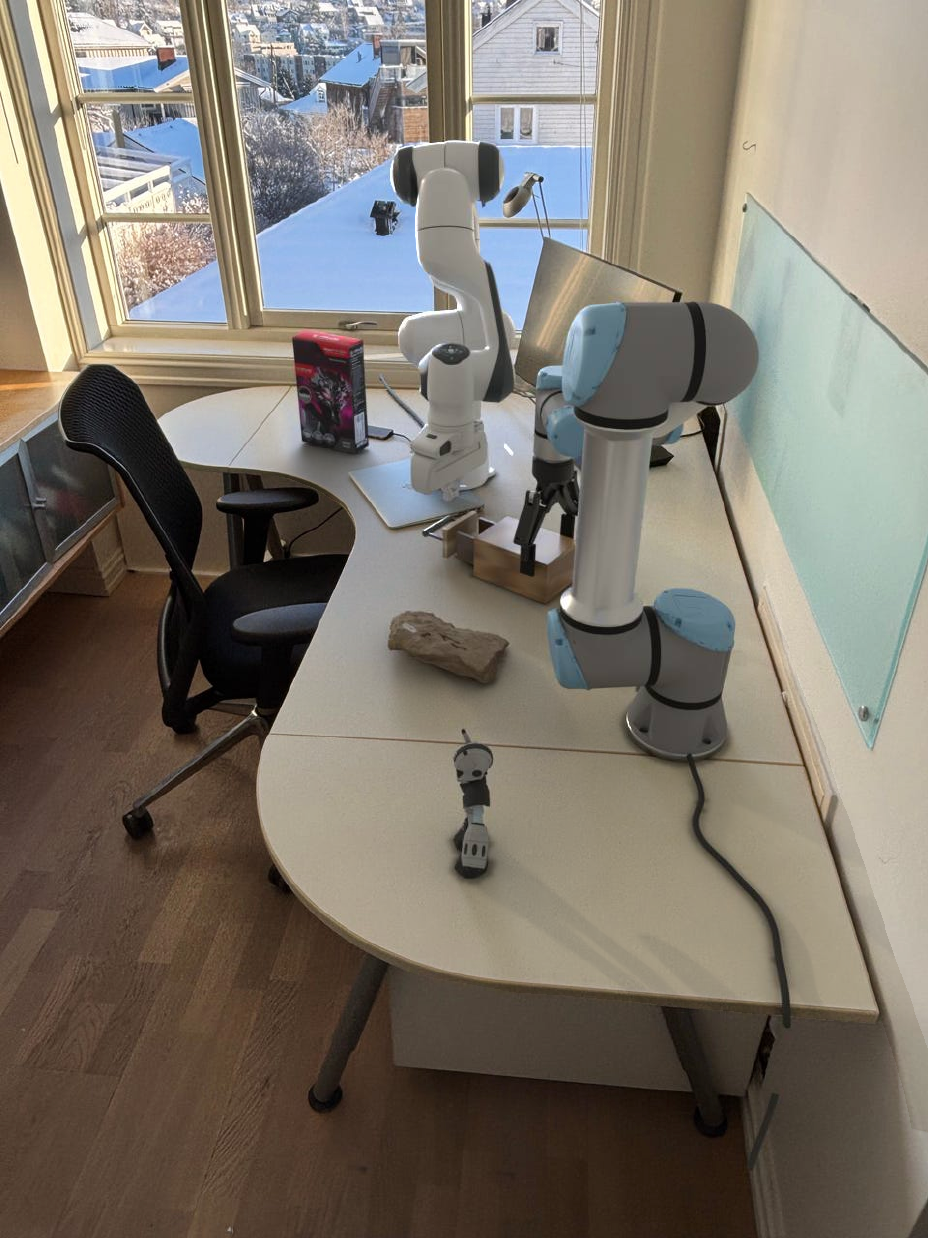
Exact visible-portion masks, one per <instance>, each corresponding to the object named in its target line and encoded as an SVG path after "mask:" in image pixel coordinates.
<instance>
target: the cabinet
mask: <svg viewBox="0 0 928 1238" xmlns="http://www.w3.org/2000/svg"><path fill="white" fill-rule="evenodd" d="M519 520H520V519H517V518H514V517H511V516H509V515H507V516H505V517H503V518H502V519H501V520H499V521H497V522H496V524H495V525H493V526H491V527H490V528H488V529H487V530H485V531H484V532H482V533H481V534H479V535H478V534H477V536H476V537H474V565H473V571H472V572H473V577H475V578H477V579H478V578H479V579H480V580H483V581H486V582H488V583H491V584H493V585H496V586H498V587H501V588H503V589H506V590H508V591H510V592H513V593H516V594H518V595H521V596H524V597H526V598H528V599H531V600H533V601H536V602H539V603H541V604H544V605H546V604H548V602H550V601H551V600H552V599H553V598H555V597H556V596H558V595H559V594H560V593H561V592H562V591H563V590H565V589H566V588H567V587H569V586H570V585H572V582H573V569H574V556H575V543H576V538H574V539H572V538H569V537H566V536H563V535H560V533H557V532H555V531H552V530H549V529H547V528H546V529H545V528H543V527H540V529H539V532H538V534H537V536H536V539H535V541H534V543H533V544H536V555H535V572H534V576H533V577H531V576H528V575H525V574H523V573H520V560H521V559H520V553H521V546H520V545H517V544H514V543H513V540H514V537H515V533H516V530H517V527H518V523H519Z"/></svg>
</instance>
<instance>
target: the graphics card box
mask: <svg viewBox="0 0 928 1238" xmlns="http://www.w3.org/2000/svg"><path fill="white" fill-rule="evenodd" d="M291 343H292V352H293V361H294V372H295V373H294V374H295V383H296V392H297V405H298V415H299V424H300V436H301V442H302V443H306V444H310V445H314V446H318V447H324V448H327V449H332V450H336V451H339V452H344V453H349V454H353V455H355V454H358V453H359V452H361V451H363V450H365V449H366V448H367V447H369V446H370V440H369V423H368V421H369V420H368V405H367V404H368V403H367V389H366V370H365V349H364V348H365V347H364V340H363V338H355V337H350V336H344V335H338V334H334V333H327V332H322V331H318V330H317V331H316V330H311V329H304V330H301V331H299V332H297V333H295V335H293V336H292V337H291Z"/></svg>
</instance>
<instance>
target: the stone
mask: <svg viewBox="0 0 928 1238" xmlns="http://www.w3.org/2000/svg"><path fill="white" fill-rule="evenodd" d="M389 630H390V632H389V635H388V641H387V648H388V650H389V651H391V652H392V651H401V652H403V653H405V654H406V655H407V657H408V658H410V659H412V660H417V661H418V660H420V662H421V663H425V664H430V665H435V666H436V667H439V668H441V669H444V670H446V671H448V672H452V673H453V674H455V675H457V676H460V677H467V678H473V679H475V680H477V682H479V683H482V684H486V685H487V684H490V683H492V682H493V680H494V678H495V677H496V675H497V671H498V665H499V664H500V661H501V659H502V657H503V655H504V653H505V652H506V648H507V647H508V646H509V645H510V642H509V641H508V640H507V639H506V638H504V637H503V636H500V635H499V634H495V633H492V632H483V631H480V630H473V629H470V628H462V627H455V626H454V625H453V624H452V622H446V621H444V620H443V619H442V618H440V617H438V616H436V615H435V614H434V613H433V612H425V611H422V610H421V611H420V610H419V611H418V610H417V611H411V610H406V611H404V612H401V613H400V614H398V615H396V616H394V617H392V619H391V622H390V625H389Z"/></svg>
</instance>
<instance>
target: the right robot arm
mask: <svg viewBox="0 0 928 1238" xmlns="http://www.w3.org/2000/svg"><path fill="white" fill-rule="evenodd" d="M759 351H760V350H759V346H758V341H757V339H756V337H755V334H754V332H753V330H752V328H751V326H749V324H748V323H747V322H746V320H745V319H743V317H741V316H740V315H739V314H737V313H736V312H735V311H733V310H732V309H730V308H728V307H725V306H723V305H721V304H718V303H713V302H709V301H689V302H687V301H678V302H677V301H674V302H671V301H670V302H669V301H666V302H665V301H664V302H661V301H658V302H657V301H653V302H652V301H651V302H649V301H647V302H645V301H644V302H643V301H642V302H641V301H640V302H638V301H637V302H636V301H635V302H632V301H631V302H630V301H628V302H627V301H624V302H623V301H620V300H619V301H618V300H617V301H614V302H611V303H599V304H598V303H597V304H590V305H587V306H585V307H583V308H582V309H580V310H579V312H578V313H577V314H576V315H575V317H574V319H573V321H572V323H571V325H570V328H569V330H568V333H567V337H566V342H565V346H564V351H563V357H562V365H549V366H544V367H543V368H541V369H540V370H539V371H538V373H537V376H536V385H535V388H534V391H535V405H534V406H535V407H534V429H533V447H532V453H533V455H532V462H531V475H532V477H533V478H534V479H535V480H536V487H535V490H530V489H527V490H526V492H525V497H524V503H523V507H522V510H521V514H520V516H519V519H518V520H519V523H518V527H517V530H516V533H515V537H514V540H513V543H514V544H517V545H520V546H521V553H520V559H521V560H520V573H523V574H525V575H528V576H531V577H533V576H534V572H535V555H536V544H533V543H534V541H535V539H536V536H537V534H538V532H539V529H540V528H542V524H543V522H544V521H545V517H546V515H547V514H548V513H550V512H551V511H552V508H553V507H554V505H555V504H559V506H560V508H561V509H562V511H563V512H564V513H561V515H560V526H559V534H560V535H563V536H566V537H569V538H572V539H575V540H576V543H575V556H574V569H573V582H572V583H571V586H570V587H569V588H568V589H566V590H565V591H564V592H562V594H561V596H560V600H559V608H552V609H551V610H548V612H547V613H546V633H547V640H548V647H549V654H550V658H551V659H550V660H551V664H552V668H553V672H554V675H555V678H556V681H557V683H558V684H559V685H560V686H561V687H562V688H564V689H567V690H586V691H591V690H594V689H596V690H597V689H616V688H634V687H635V691H634V692H635V693H636V694H635V695H634V697H633V699H632V701H631V702H630V704H629V706H628V708H627V711H626V719H625V728H626V732H627V734H628V736H629V738H630V739H631V741H632V742H634V744H636V745H637V746H638V747H639V748H640V749H641V750H643V751H645V752H646V753H648V754H650V755H651V756H654V757H656V758H659V759H662V760H666V761H670V762H675V763H688V766H689V769H690V772H691V775H692V778H693V781H694V783H695V785H696V789H697V795H698V797H697V802H696V806H695V810H694V812H693V816H692V829H693V833H694V835H695V837H696V838H697V841H698V842H699V844H700V845H701V846H702V848H704V849H705V850H706V852H707V853H708V854H709V855H711V856H712V858H714V859H715V860H716V861H717V862H718V863H719V864H720V865H721V867H723V868H724V869H725V870H726V872H728V874H729V875H730V876H731V877H732V878H733V879H734V880H735V881H736V882H737V883H738V885H740V886H741V887H742V888H743V890H745V892H747V894H749V896H750V897H752V899H753V900H754V902H756V903H757V905H758V907H759V908H760V909H761V911H762V913H763V914H764V916H765V918H766V921H767V923H768V925H769V928H770V932H771V938H772V944H773V952H774V959H775V964H776V969H777V975H778V981H779V986H780V994H781V1009H782V1010H781V1011H782V1012H781V1013H782V1016H781V1017H782V1026H783V1027H784V1029H786V1030H787V1029H788V1030H790V1029H791V1025H792V1024H791V1021H792V1018H791V1014H792V1013H791V999H790V990H789V989H790V988H789V983H788V978H787V977H788V976H787V973H786V968H785V963H784V957H783V950H782V943H781V937H780V932H779V927H778V925H777V922H776V919H775V917H774V914H773V913H772V911H771V909H770V907H769V906H768V904H767V902H765V900H764V899H763V897H762V896H761V894H759V893H758V892H757V890H756V889H755V888H754V887H752V885H751V884H750V883H749V882H748V881H747V880H746V879H745V878H743V876H742V875H741V874H740V873H739V872H738V871H737V870H736V869H735V867H734V866H733V865H732V864H730V862H729V861H728V860H727V859H726V858H724V857H723V855H722V854H720V853H719V852H718V851H717V850H716V849H715V848H714V847H713V846H712V845H711V844H710V843H709V842H708V840H707V839H706V838H705V836H704V835H703V833H702V831H701V828H700V817H701V814H702V811H703V809H704V805H705V801H706V800H705V799H706V797H705V789H704V785H703V782H702V780H701V778H700V775H699V772H698V769H697V766H696V763H695V762H700V761H703V760H706V759H709V758H711V757H714V755H716V754H718V752H720V751H721V750H722V748H723V747H724V744H725V743H726V740H727V739H726V738H727V733H728V721H727V716H726V712H725V708H724V707H725V706H724V701H723V692H724V686H725V682H726V678H727V674H728V669H729V664H730V659H731V654H732V651H733V649H734V646H735V640H734V639H735V632H736V620H735V619H736V618H735V617H734V614H733V612H732V611H731V609H730V608H729V607H728V606H727V605H726V604H725V603H723V602H722V601H721V600H719V599H718V598H716V597H715V596H712V595H711V594H709V593H706V592H704V591H701V590H696V589H692V588H686V587H673V588H668V589H665V590H663V591H662V592H660V593H658V595H657V596H656V597H655V599H654V601H653V605H644V603H643V600H642V598H641V596H639V595H638V594H637V593H636V592H635V588H636V579H637V572H638V571H637V570H638V564H639V563H638V562H639V554H640V546H641V545H640V544H641V538H642V529H643V520H644V513H645V504H646V495H647V487H648V478H649V470H650V463H651V462H650V461H651V454H652V447H660V446H666V445H667V446H668V445H674V444H676V443H678V442H679V441H680V439H681V435H682V434H683V431H684V425H685V424H684V423H686V422H687V421H688V420H690V419H691V418H693V417H695V416H696V415H698V414H699V413H700V412H701V411H703V410H704V409H706V408H708V407H718V406H721V405H725V404H726V403H729V402H730V401H733V399H735V398H737V397H738V396H739V395H740V394H742V393H743V392H744V391H745V390H746V389H747V388H748V387H749V386H750V384H751V383H752V381H753V379H754V377H755V375H756V373H757V371H758V365H759V361H760V359H759V358H760V357H759V356H760V355H759V354H760V353H759ZM580 456H581V467H580V480H579V481H580V482H579V481H578V470H577V469H575V464H576V463H575V462H576V458H577V457H580ZM576 517H577V520H576ZM575 526H576V529H575ZM575 530H576V534H575ZM779 1098H780V1094H778V1093H775V1092H771V1094H770V1097H769V1101H768V1104H767V1107H766V1110H765V1113H764V1116H763V1119H762V1121H761V1124H760V1127H759V1129H758V1131H757V1134H756V1137H755V1140H754V1143H753V1146H752V1148H751V1150H750V1153H749V1157H748V1160H747V1163H746V1170H747V1171H748V1172H753V1171H754V1168H755V1165H756V1162H757V1160H758V1156H759V1154H760V1150H761V1149H762V1145H763V1143H764V1140H765V1138H766V1136H767V1133H768V1130H769V1127H770V1125H771V1122H772V1119H773V1117H774V1114H775V1112H776V1108H777V1106H778V1105H777V1104H778V1101H779Z"/></svg>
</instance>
